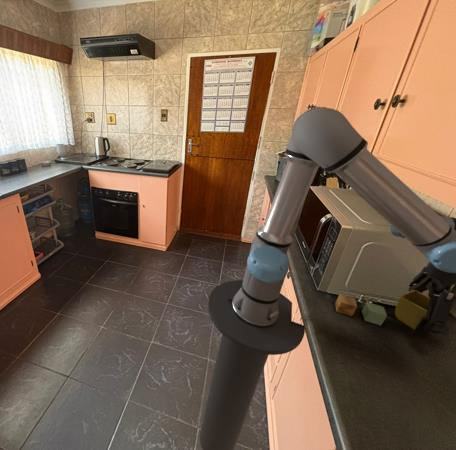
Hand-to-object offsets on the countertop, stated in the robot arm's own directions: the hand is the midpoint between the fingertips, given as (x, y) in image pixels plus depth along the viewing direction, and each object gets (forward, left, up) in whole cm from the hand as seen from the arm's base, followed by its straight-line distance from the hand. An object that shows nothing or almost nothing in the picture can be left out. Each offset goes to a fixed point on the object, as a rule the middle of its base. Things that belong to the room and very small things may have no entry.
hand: (411, 321), depth 79 cm
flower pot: (0, 0, -1) cm, 1 cm away
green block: (-9, 0, -4) cm, 10 cm away
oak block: (-17, 0, -4) cm, 17 cm away
